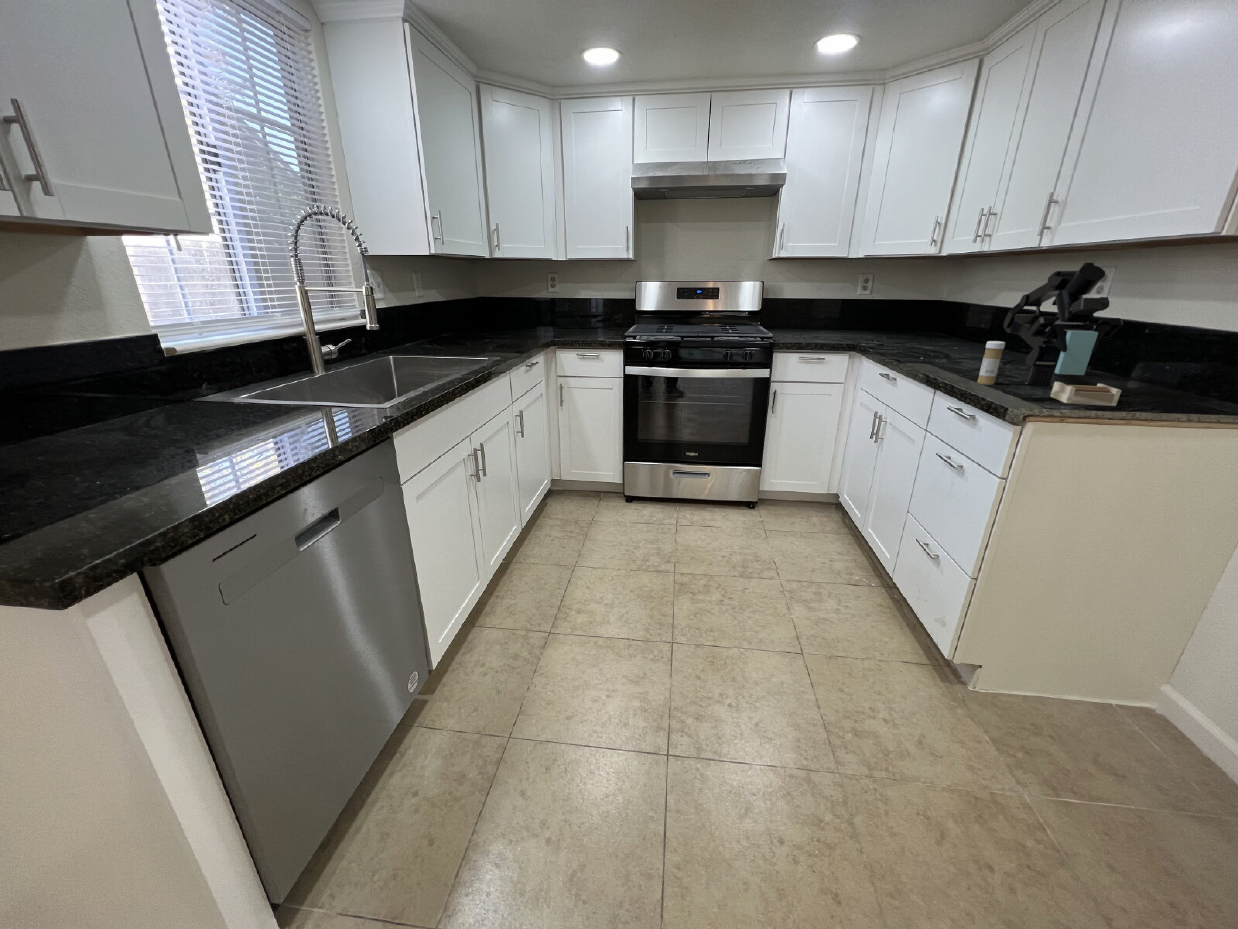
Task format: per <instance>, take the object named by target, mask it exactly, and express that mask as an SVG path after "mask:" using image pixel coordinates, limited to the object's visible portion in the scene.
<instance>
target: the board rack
mask: <svg viewBox="0 0 1238 929" xmlns="http://www.w3.org/2000/svg"><path fill="white" fill-rule="evenodd" d="M1053 384H1054V385H1052V390H1051V393H1050V397H1051V398H1053V399H1055V400H1058V401H1060V402H1062V403H1065V404H1070V405H1071V404H1074V405H1089V406H1090V405H1091V406H1092V405H1093V406H1094V405H1095V406H1112V407H1116V406H1117V404H1118V401H1119V398H1120V395H1121V393H1122V390H1121V389H1119V388H1116V387H1112V386H1109V385H1107V384H1104V383H1097V385H1096V386H1104V387H1107V389H1108V390H1110V393H1100V392H1079V391H1075V389H1076V388H1074V387H1071V386H1069V385H1070V384H1066V383H1064V382H1060V381H1054V383H1053Z"/></svg>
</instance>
